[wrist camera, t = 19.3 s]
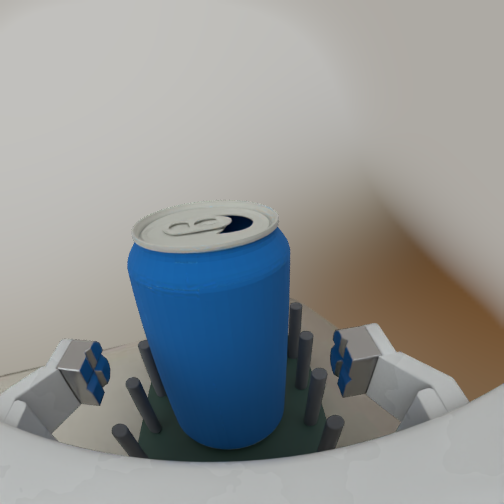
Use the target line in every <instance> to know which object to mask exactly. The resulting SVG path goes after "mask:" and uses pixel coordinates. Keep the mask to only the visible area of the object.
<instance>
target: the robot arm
mask: <svg viewBox="0 0 504 504" xmlns="http://www.w3.org/2000/svg"><path fill="white" fill-rule="evenodd" d="M333 341H334V343H335V345H334V346H333V347H332V348H331V354H330V362H331V367H332V371H333V374H334V375H336V376H337V377H339V379H338V383H337V384H338V387H339V389H340V392H341V394H342V397H343V398H345V397H350V396H356V395H361V394H366V395H367V396H368V397H369V398H371V399H372V400H373V401H375V402H376V403H377V404H378V405H380V406H381V407H382V408H384V409H385V410H386V411H387V412H389V413H390V414H391V415H393V416H394V417H395V418H397V419H398V420H399V421H401V423H400V425H399V427H398V428H397V430H396V432H395V433H392V434H389V435H386V436H383V437H379V438H376V439H372V440H369V441H365V442H361V443H357V444H353V445H349V446H345V447H341V448H336V449H331V450H326V451H321V452H316V453H310V454H304V455H297V456H290V457H282V458H274V459H264V460H251V461H232V462H186V461H168V460H156V459H146V458H137V457H130V456H123V455H116V454H111V453H105V452H100V451H95V450H90V449H86V448H81V447H77V446H73V445H69V444H65V443H62V442H58V440H57V439H56V438H55V437H54V436H53V435H52V433H53V432H54V431H55V430H56V429H57V428H58V427H59V426H60V425H61V424H62V423H63V422H64V421H65V420H66V419H67V418H68V417H69V416H70V415H71V414H72V413H73V412H74V411H75V410H76V409H77V408H78V407H79V406H80V405H81V404H87V405H96V406H100V404H101V401H102V399H103V396H104V393H105V392H104V390H103V387H104V386H105V385H107V384H108V382H109V379H110V366H109V363H108V360H107V359H106V358H105V357H104V356H103V355H102V354H101V353H102V351H103V349H102V347H101V345H100V343H99V342H97V341H86V340H72V339H63V340H61V341H60V343H59V344H58V346H57V348H56V349H55V351H54V353H53V354H52V356H51V358H50V359H49V361H48V362H47V364H46V366H45V367H43V366H42V367H40V368H39V369H37V370H36V371H34V372H33V373H31V374H29V375H28V376H26V377H25V378H23V379H22V380H20V381H19V382H17V383H16V384H14V385H13V386H11V387H10V388H8V389H7V390H5V391H3V392H2V393H1V394H0V504H504V383H503V384H502V385H500V386H498V387H497V388H495V389H493V390H491V391H490V392H488V393H486V394H484V395H482V396H480V397H478V398H476V399H475V400H473V401H471V402H469V401H468V399H467V397H466V396H465V394H464V393H463V392H462V390H461V389H460V387H459V386H458V384H457V383H456V381H455V380H454V378H452V377H450V376H448V375H446V374H444V373H442V372H440V371H438V370H436V369H434V368H432V367H430V366H428V365H426V364H424V363H422V362H420V361H418V360H416V359H414V358H412V357H410V356H408V355H406V354H404V353H402V352H396V351H395V349H394V348H393V346H392V345H391V343H390V342H389V340H388V338H387V337H386V335H385V334H384V332H383V331H382V330H381V328H380V327H379V325H378V324H376V323H373V324H368V325H363V326H358V327H351V328H345V329H338V330H335V332H334V335H333Z"/></svg>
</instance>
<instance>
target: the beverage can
mask: <svg viewBox="0 0 504 504" xmlns="http://www.w3.org/2000/svg"><path fill="white" fill-rule="evenodd" d="M278 222H279V216H278V213H277V212H276V211H275V210H274V209H272V208H270V207H268V206H265V205H262V204H258V203H254V202H247V201H235V200H216V201H203V202H194V203H188V204H183V205H178V206H174V207H170V208H166V209H163V210H160V211H157V212H155V213H152V214H150V215H148V216H146V217H144V218H142V219H141V220H140V221H138V222H137V223H136V224H135V225H134V226H133V228H132V238H133V241H134V245H133V247H132V249H131V251H130V253H129V257H128V273H129V277H130V281H131V285H132V289H133V293H134V296H135V300H136V304H137V307H138V311H139V314H140V317H141V321H142V324H143V328H144V331H145V334H146V337H147V340H148V344H149V347H150V350H151V353H152V356H153V359H154V361H155V364H156V367H157V370H158V373H159V375H160V378H161V381H162V383H163V386H164V389H165V391H166V394H167V396H168V399H169V401H170V404H171V406H172V409H173V411H174V414H175V416H176V418H177V421H178V423H179V425H180V426H181V428H182V429H183V431H184V432H185V433H186V434H187V435H188V436H189V437H191V438H192V439H193V440H195V441H197V442H198V443H200V444H203V445H205V446H208V447H211V448H216V449H227V450H231V449H240V448H244V447H248V446H251V445H254V444H256V443H258V442H260V441H262V440H263V439H265V438H266V437H267V436H269V435H270V434H271V433H272V432H273V431H274V430H275V429H276V427H277V426H278V424H279V423H280V421H281V418H282V416H283V412H284V401H285V385H286V366H287V345H288V320H289V285H290V247H289V244H288V241H287V239H286V237H285V236H284V234H283V233H282V232H281V230H280V229H279V228H278V227H277V226H278Z"/></svg>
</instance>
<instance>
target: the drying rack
mask: <svg viewBox="0 0 504 504" xmlns="http://www.w3.org/2000/svg"><path fill="white" fill-rule="evenodd" d="M301 317H302V305H301V304H300V303H292V304H291V305H290V314H289V335H288V345H287V366H286V385H285V401H284V412H283V416H282V418H281V421H280V423H279V424H278V426H277V427H276V429H275V430H274V431H273V432H272V433H271V434H270V435H269V436H267V437H266V438H265V439H263V440H262V441H260V442H258V443H256V444H254V445H251V446H248V447H244V448H240V449H231V450H227V449H216V448H211V447H208V446H205V445H203V444H200V443H198V442H197V441H195V440H193V439H192V438H191V437H189V436H188V435H187V434H186V433H185V432H184V431H183V429H182V428H181V426H180V425H179V423H178V421H177V418H176V416H175V414H174V411H173V409H172V406H171V404H170V401H169V399H168V396H167V394H166V391H165V389H164V386H163V383H162V381H161V378H160V375H159V373H158V370H157V367H156V364H155V361H154V359H153V356H152V353H151V350H150V347H149V344H148V340H143V341H141V342H139V344H138V348H139V351H140V353H141V356H142V359H143V362H144V364H145V367H146V369H147V372H148V374H149V377H150V379H151V386H150V390H149V394H148V398H147V395H146V393H145V391H144V389H143V387H142V384H141V382H140V380H139V379H138V378H135V377H132V378H129V379H128V380H127V381H126V387H127V389H128V391H129V393H130V395H131V397H132V399H133V401H134V403H135V405H136V407H137V408H138V410H139V412H140V414H141V416H142V418H143V422H142V427H141V432H140V437H139V442H137V441H136V439H135V438H134V437H133V435H132V434H131V432H130V431H129V429H128V428H127V426H126V425H124V424H116V425H115V426H113V428H112V434H113V436H114V437H115V438H116V440H117V441H118V442H119V444H120V445H121V446H122V447H123V449H124V450H125V451H126V452H127V454H128V455H129V456H130V457H137V458H146V459H156V460H168V461H186V462H232V461H251V460H264V459H274V458H282V457H290V456H297V455H304V454H310V453H316V452H321V451H326V450H331V449H335V447H336V444H337V442H338V439H339V437H340V434H341V432H342V429H343V426H344V419H343V418H342V417H341V416H338V415H333V416H330V417H329V418H328V419H327V420H326V416H325V413H324V410H323V407H322V398H323V394H324V389H325V384H326V379H327V371H326V370H325V369H323V368H316V369H314V370H313V371H311V368H310V361H311V352H312V344H313V334H312V333H311V332H309V331H303V332H301ZM300 332H301V333H300Z"/></svg>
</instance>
